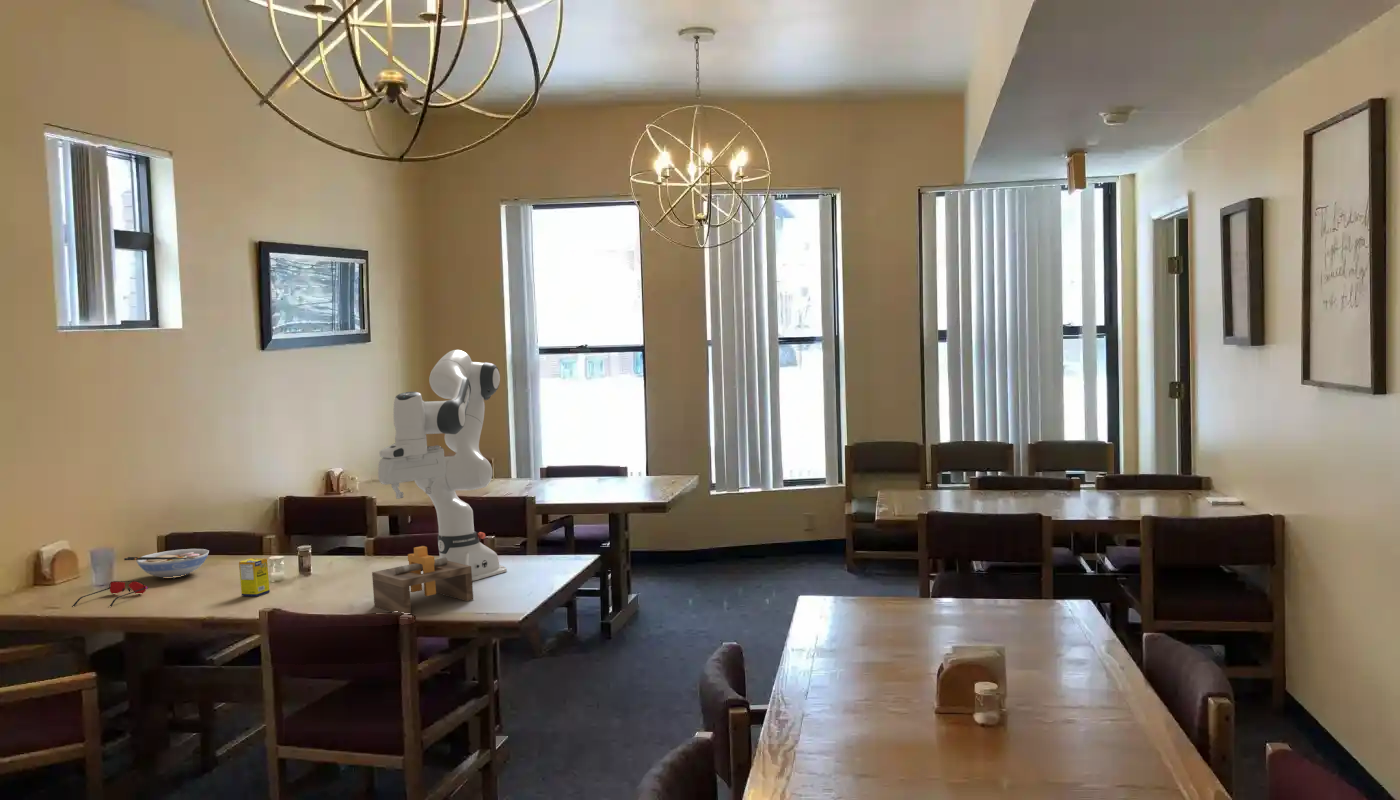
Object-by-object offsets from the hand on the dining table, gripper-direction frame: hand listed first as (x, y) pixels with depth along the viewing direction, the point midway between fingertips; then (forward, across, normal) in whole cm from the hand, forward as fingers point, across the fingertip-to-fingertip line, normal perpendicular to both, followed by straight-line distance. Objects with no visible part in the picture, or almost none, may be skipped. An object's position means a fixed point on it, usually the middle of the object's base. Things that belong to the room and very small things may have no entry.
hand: (414, 495), depth 319 cm
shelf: (+31, 0, +1) cm, 31 cm away
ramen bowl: (+32, +33, -108) cm, 118 cm away
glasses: (+32, +59, -88) cm, 111 cm away
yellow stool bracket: (+28, 0, +1) cm, 28 cm away
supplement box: (+32, +26, -55) cm, 69 cm away
